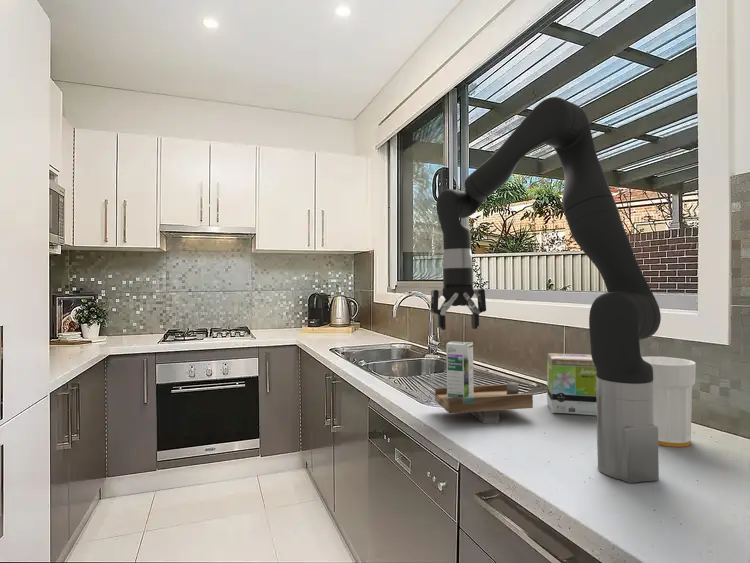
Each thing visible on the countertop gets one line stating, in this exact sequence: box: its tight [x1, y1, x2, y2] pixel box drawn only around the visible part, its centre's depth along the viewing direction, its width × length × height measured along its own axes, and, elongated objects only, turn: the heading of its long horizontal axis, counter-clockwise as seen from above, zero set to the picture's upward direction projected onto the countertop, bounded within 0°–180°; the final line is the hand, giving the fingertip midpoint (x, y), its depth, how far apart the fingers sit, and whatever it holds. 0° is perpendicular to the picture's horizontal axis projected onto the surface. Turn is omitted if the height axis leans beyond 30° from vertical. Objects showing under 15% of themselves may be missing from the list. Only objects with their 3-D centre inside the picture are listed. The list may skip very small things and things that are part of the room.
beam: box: [434, 381, 534, 424], centre depth 120 cm, size 12×22×8 cm, turn 99°
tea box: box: [546, 352, 597, 417], centre depth 123 cm, size 15×10×15 cm, turn 76°
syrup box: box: [445, 341, 475, 399], centre depth 118 cm, size 6×6×14 cm
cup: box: [641, 355, 697, 448], centre depth 100 cm, size 11×11×17 cm
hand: (458, 329), depth 119 cm, fingers open, 8 cm apart
